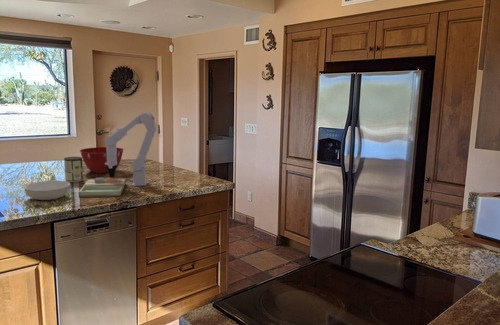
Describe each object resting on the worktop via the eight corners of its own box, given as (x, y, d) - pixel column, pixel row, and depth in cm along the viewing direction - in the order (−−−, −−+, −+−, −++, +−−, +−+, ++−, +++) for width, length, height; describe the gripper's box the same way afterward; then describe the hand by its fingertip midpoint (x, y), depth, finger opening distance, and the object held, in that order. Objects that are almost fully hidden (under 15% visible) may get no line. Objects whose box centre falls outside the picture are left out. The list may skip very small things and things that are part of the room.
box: (83, 190, 216) (83, 186, 216) (122, 189, 221) (122, 185, 220) (78, 196, 204) (78, 191, 203) (120, 195, 208) (120, 191, 208)
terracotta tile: (106, 180, 228) (106, 177, 228) (115, 180, 229) (115, 177, 229) (105, 182, 223) (105, 179, 223) (114, 182, 225) (114, 179, 224)
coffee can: (73, 177, 246) (72, 156, 244) (86, 179, 243) (85, 157, 241) (61, 181, 236) (60, 158, 234) (75, 182, 234) (74, 159, 231)
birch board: (88, 183, 232) (88, 179, 231) (125, 183, 236) (125, 178, 236) (83, 190, 216) (83, 185, 216) (122, 189, 221) (122, 184, 220)
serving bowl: (17, 198, 197) (16, 185, 195) (56, 190, 214) (56, 178, 213) (38, 206, 185) (38, 192, 184) (78, 197, 203) (78, 184, 201)
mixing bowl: (71, 173, 257) (70, 151, 255) (95, 166, 285) (95, 145, 282) (110, 177, 252) (109, 153, 250) (131, 169, 280) (130, 148, 277)
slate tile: (96, 181, 227) (95, 177, 227) (105, 180, 228) (104, 177, 228) (94, 183, 222) (94, 179, 222) (103, 182, 223) (103, 179, 223)
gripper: (106, 153, 237) (106, 175, 239) (102, 157, 223) (103, 180, 226) (118, 153, 239) (118, 175, 241) (115, 157, 225) (116, 180, 227)
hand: (112, 177), depth 233 cm, fingers closed
